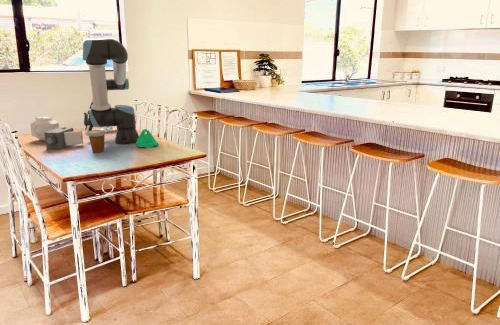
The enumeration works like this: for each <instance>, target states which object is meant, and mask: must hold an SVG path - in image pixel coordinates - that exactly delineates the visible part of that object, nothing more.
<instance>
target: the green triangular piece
mask: <svg viewBox="0 0 500 325" xmlns="http://www.w3.org/2000/svg"><path fill="white" fill-rule="evenodd" d="M138 136H139V138H138V140H137V142H136V143H135V144H136V146H137V147H139V148H145V149H150V148H154V147H155V146H159V144H160V143H159V142H158V141H157V140H156V139H155V137H154V136H153V135H152V133H151V131H150V130H148V129H145V128H144V129H142V130H141V132H140V134H139V135H138Z"/></svg>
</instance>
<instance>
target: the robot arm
mask: <svg viewBox="0 0 500 325" xmlns="http://www.w3.org/2000/svg"><path fill="white" fill-rule="evenodd" d="M128 56H129V54H128V51H127V49H126V47H125V46H124V44H122V43H121V42H119V41H118V40H117V39H113V38H85V39H84V40H83V41H82V61H85V64H86V65H87V66H88V68H89V76H90V87H91V93H92V94H91V95H92V100H91V103H90V106H89V109H88V110H87V112H84V113H83V115H84V117H83V119H84V120H83V125H84V126H85V128H84V130H85V133H84V135H85V136H86V137H89V136H88V132H89V131H92V130H93V128H102V127H110V126H112V127H116V133H115V137H114V142H115V144H118V145H119V144H120V145H121V144H122V145H130V144H136V142H137V140H138V138H139V136H140V135H139V133H138V131H137V129H136V128H137V126H136V116H135V115H136V114H135V108H134V107H133V106H131V105H125V104H115V105H114V107H112V105H111V104H110V103H109V97H108V91H124V90H125V91H126V90H129V88H130V83H129V82H130V81H129V78H127V61H128V58H129V57H128ZM110 60H111V61H112V68H113V69H112V70H113V71H112V72H113V78H107V76H106V75H107V74H106V65H107V64H108V61H110Z"/></svg>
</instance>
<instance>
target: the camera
mask: <svg viewBox="0 0 500 325" xmlns="http://www.w3.org/2000/svg"><path fill="white" fill-rule="evenodd" d="M34 119H35V120H34V121H32V122H31V123H30V133H31V136H32V137H34V138H36V139H38V140H39V141H44V142H45V134H44V132H47V131H50V130H53V129H56V128H59V127H60V123H59V122H58V121H57V120H54V119H53V118H52V117H48V116H46V115H45V116H39V117H36V116H35V115H34Z"/></svg>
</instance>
